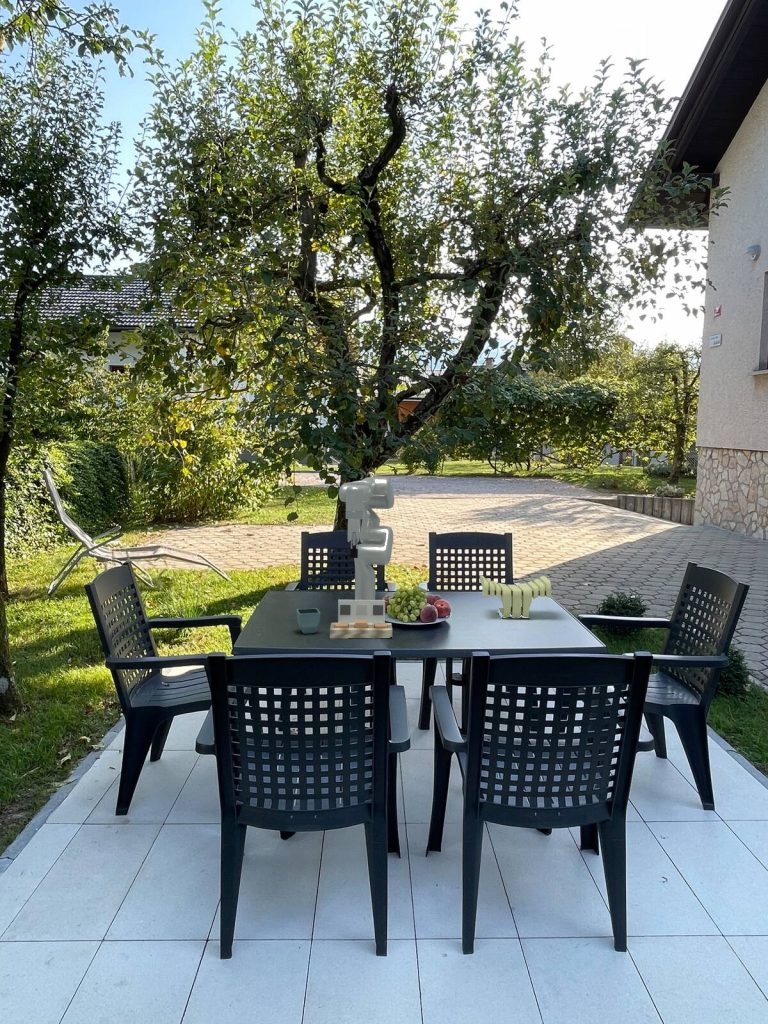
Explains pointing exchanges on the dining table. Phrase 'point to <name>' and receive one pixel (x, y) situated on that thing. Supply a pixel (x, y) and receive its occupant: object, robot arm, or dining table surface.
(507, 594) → the slatted curved stool
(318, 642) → the dining table surface
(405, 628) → the dining table surface
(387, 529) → the robot arm
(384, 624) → the key
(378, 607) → the pattern sign
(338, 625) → the key
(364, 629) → the key board
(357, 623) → the middle key
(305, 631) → the flower pot
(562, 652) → the dining table surface
